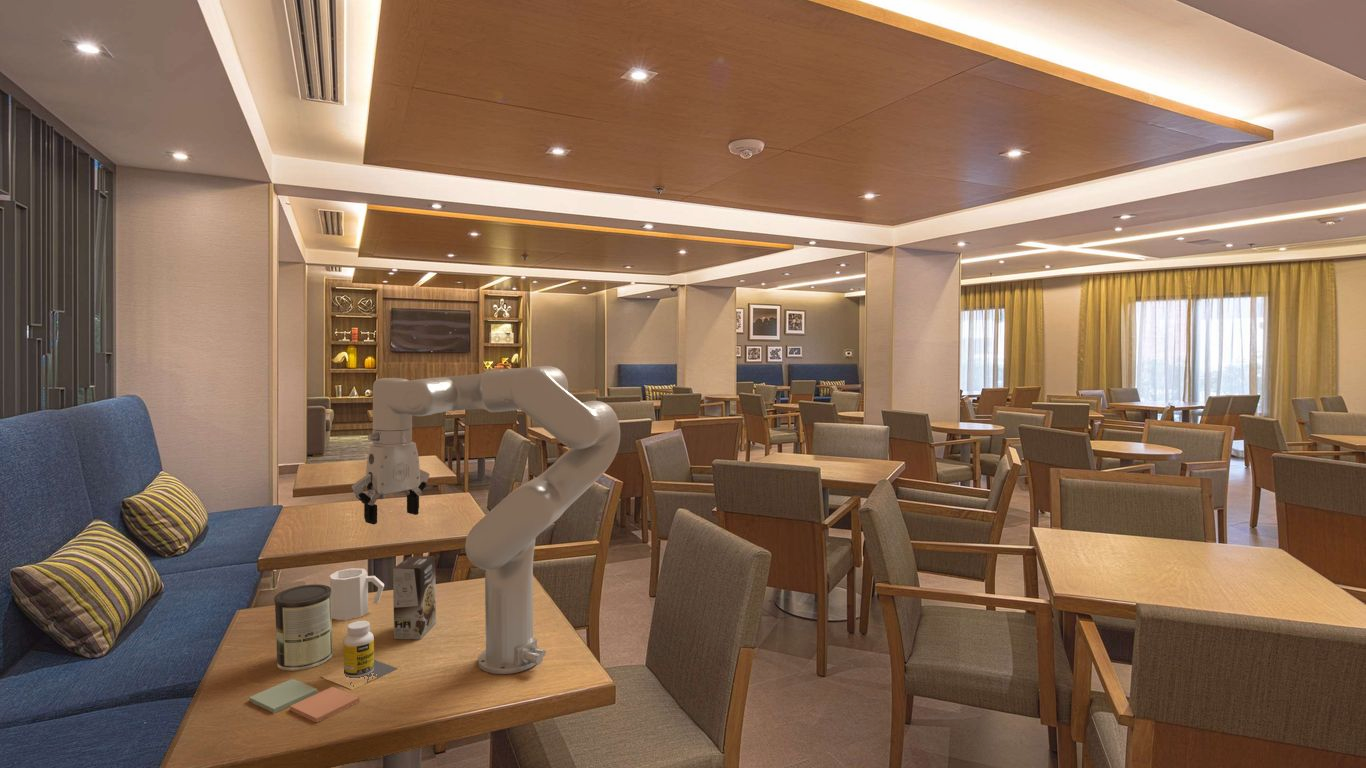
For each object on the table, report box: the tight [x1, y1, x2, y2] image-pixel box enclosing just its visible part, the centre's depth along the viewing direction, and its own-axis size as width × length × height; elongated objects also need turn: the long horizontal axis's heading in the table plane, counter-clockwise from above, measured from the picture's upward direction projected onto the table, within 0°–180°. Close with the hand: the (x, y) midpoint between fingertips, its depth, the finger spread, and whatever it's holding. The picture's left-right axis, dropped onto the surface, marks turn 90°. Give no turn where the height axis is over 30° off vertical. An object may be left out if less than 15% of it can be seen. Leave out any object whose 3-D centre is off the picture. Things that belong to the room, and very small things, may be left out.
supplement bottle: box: [343, 620, 375, 678], centre depth 136 cm, size 5×5×10 cm
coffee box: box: [392, 555, 437, 640], centre depth 155 cm, size 9×6×16 cm
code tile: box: [350, 659, 399, 687], centre depth 136 cm, size 10×10×1 cm
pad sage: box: [248, 678, 318, 714], centre depth 127 cm, size 8×8×1 cm
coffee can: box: [273, 583, 334, 672], centre depth 141 cm, size 10×10×14 cm
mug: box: [329, 567, 385, 621], centre depth 166 cm, size 12×9×10 cm
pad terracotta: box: [289, 686, 360, 723], centre depth 123 cm, size 8×8×1 cm
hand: (392, 518), depth 143 cm, fingers open, 9 cm apart
